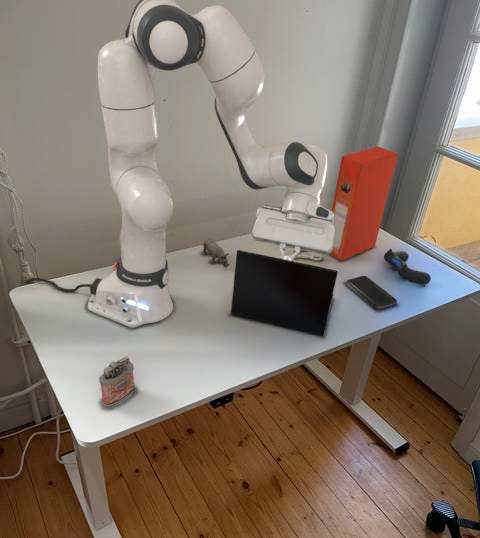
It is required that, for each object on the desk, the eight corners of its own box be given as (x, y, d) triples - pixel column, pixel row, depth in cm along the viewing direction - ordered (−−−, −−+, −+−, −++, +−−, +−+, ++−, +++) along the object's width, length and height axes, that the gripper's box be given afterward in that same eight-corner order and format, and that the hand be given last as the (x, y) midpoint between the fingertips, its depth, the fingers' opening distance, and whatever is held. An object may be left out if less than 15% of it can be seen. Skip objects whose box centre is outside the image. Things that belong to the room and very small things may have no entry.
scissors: (327, 256, 163) (275, 269, 154) (327, 258, 164) (275, 271, 155) (308, 241, 170) (258, 252, 161) (308, 243, 171) (257, 254, 162)
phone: (378, 307, 142) (345, 280, 152) (377, 311, 142) (344, 283, 152) (399, 301, 145) (365, 274, 155) (398, 304, 146) (365, 278, 156)
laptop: (248, 281, 150) (249, 275, 149) (332, 299, 145) (333, 293, 144) (231, 315, 136) (231, 309, 135) (323, 336, 132) (324, 331, 130)
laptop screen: (237, 249, 125) (236, 251, 124) (338, 270, 120) (337, 272, 120) (231, 310, 135) (231, 311, 134) (324, 331, 130) (323, 333, 130)
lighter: (108, 410, 107) (104, 376, 100) (99, 402, 108) (94, 368, 102) (138, 391, 112) (136, 358, 105) (129, 383, 113) (126, 350, 107)
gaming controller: (395, 265, 168) (376, 253, 163) (407, 251, 166) (388, 239, 161) (422, 293, 156) (402, 282, 150) (435, 279, 154) (415, 267, 148)
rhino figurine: (222, 274, 152) (223, 257, 148) (199, 253, 161) (200, 236, 157) (233, 271, 154) (234, 254, 150) (211, 250, 162) (211, 233, 159)
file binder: (323, 250, 168) (342, 155, 148) (356, 237, 177) (378, 146, 157) (341, 261, 163) (363, 164, 143) (374, 246, 172) (399, 154, 153)
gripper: (257, 198, 124) (243, 251, 123) (340, 214, 121) (327, 269, 119) (260, 207, 130) (247, 258, 129) (338, 223, 127) (326, 275, 125)
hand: (286, 264), depth 124 cm, fingers closed, pressing on laptop screen
